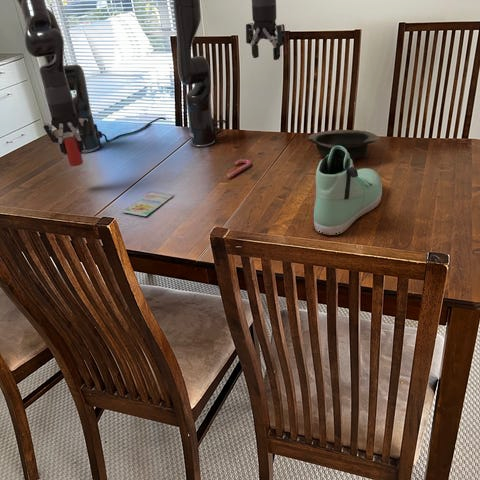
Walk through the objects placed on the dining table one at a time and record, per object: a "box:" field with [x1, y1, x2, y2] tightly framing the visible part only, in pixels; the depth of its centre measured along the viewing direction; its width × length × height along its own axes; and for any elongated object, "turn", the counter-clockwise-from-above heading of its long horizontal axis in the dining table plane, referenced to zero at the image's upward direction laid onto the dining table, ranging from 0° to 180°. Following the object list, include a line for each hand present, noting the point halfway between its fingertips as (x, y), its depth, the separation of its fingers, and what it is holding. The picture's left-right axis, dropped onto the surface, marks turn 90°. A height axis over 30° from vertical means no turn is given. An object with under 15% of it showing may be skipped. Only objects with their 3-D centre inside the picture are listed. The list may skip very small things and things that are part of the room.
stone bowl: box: [307, 129, 380, 162], centre depth 171 cm, size 25×25×9 cm
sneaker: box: [313, 146, 383, 236], centre depth 133 cm, size 14×35×20 cm, turn 152°
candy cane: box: [226, 158, 252, 180], centre depth 168 cm, size 6×15×2 cm, turn 145°
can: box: [63, 135, 84, 167], centre depth 156 cm, size 4×4×9 cm
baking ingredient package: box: [121, 191, 173, 217], centre depth 150 cm, size 9×1×15 cm
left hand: (73, 152), depth 156 cm, fingers closed on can, 4 cm apart
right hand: (266, 58), depth 157 cm, fingers open, 8 cm apart
